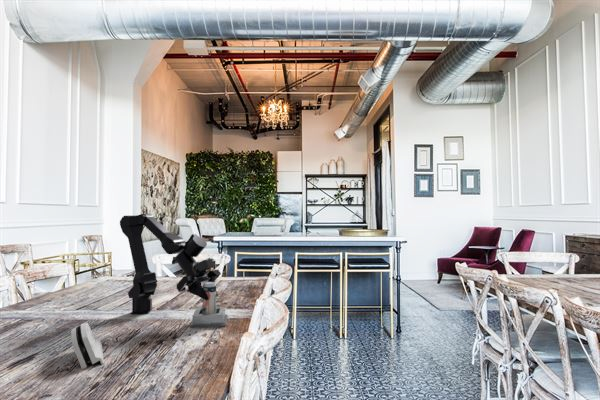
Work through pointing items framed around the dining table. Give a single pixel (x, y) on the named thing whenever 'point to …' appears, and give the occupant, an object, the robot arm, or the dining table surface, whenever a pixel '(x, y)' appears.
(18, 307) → the dining table surface
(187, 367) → the dining table surface
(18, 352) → the dining table surface
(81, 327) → the grey grooved device
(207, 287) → the labelled cylindrical container
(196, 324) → the rail block
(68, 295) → the dining table surface
